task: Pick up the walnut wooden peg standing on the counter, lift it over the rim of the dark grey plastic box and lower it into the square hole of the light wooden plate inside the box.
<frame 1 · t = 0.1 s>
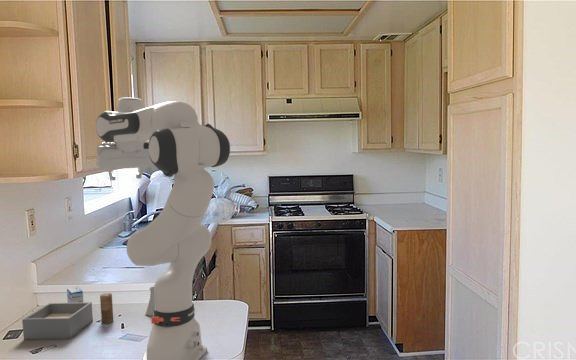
hand: (125, 179, 165), 52 cm above the counter, tool tilted 20°, fingers open, 8 cm apart
wooden peg: (107, 321, 167), on the counter
medicine box: (76, 311, 180), on the counter
flask: (155, 313, 174), on the counter
storage box: (59, 329, 160), on the counter
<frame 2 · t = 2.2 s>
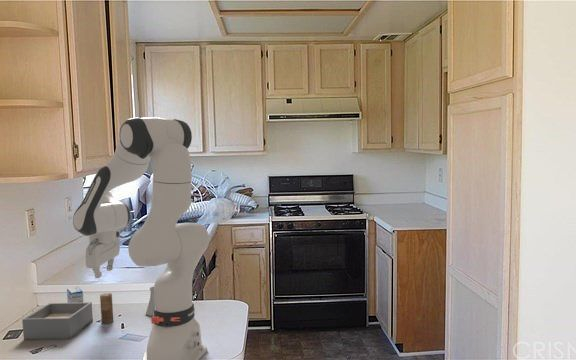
hand: (104, 273, 166), 18 cm above the counter, tool pointing down, fingers open, 8 cm apart
nothing on the counter moved.
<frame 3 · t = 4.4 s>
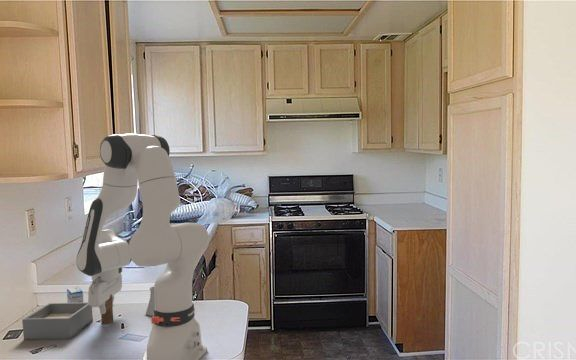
hand: (106, 310, 167), 4 cm above the counter, tool pointing down, fingers closed on wooden peg, 4 cm apart
wooden peg: (107, 321, 167), on the counter, touching gripper
everything else where it was.
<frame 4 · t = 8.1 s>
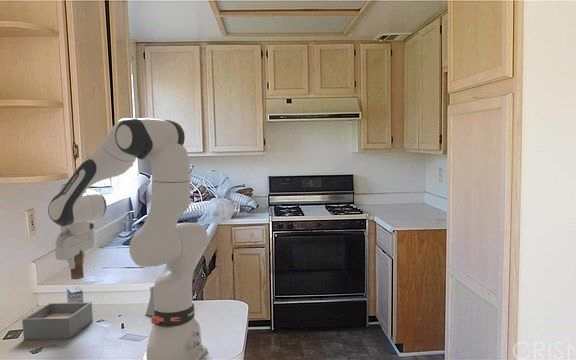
hand: (76, 266, 162), 22 cm above the counter, tool pointing down, fingers closed on wooden peg, 4 cm apart
wooden peg: (77, 277, 162), point 18 cm above the counter, touching gripper
everything else where it was.
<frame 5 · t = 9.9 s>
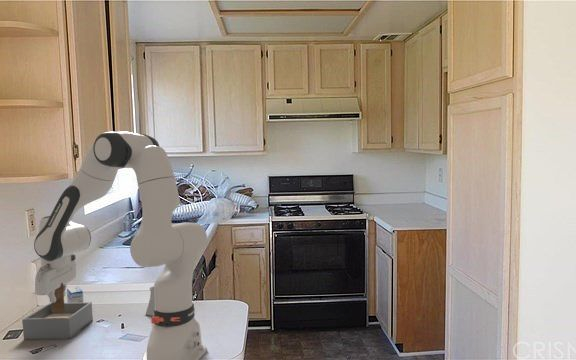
hand: (57, 299, 160), 11 cm above the counter, tool pointing down, fingers closed on wooden peg, 4 cm apart
wooden peg: (58, 311, 160), point 7 cm above the counter, touching gripper
everything else where it was.
when the fingers open (6 cm above the counter, at t = 11.8 s): wooden peg stays where it is, resting on storage box.
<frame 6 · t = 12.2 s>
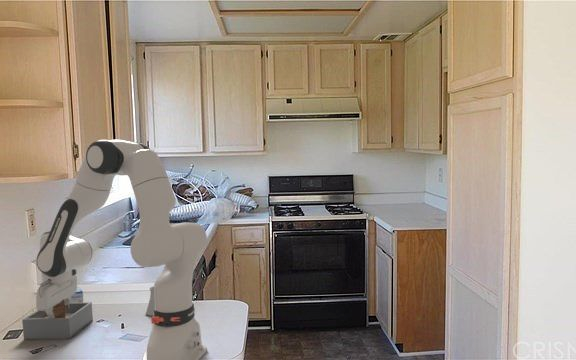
hand: (58, 314, 160), 6 cm above the counter, tool pointing down, fingers open, 8 cm apart
wooden peg: (59, 327, 160), point 1 cm above the counter, touching storage box
everything else where it was.
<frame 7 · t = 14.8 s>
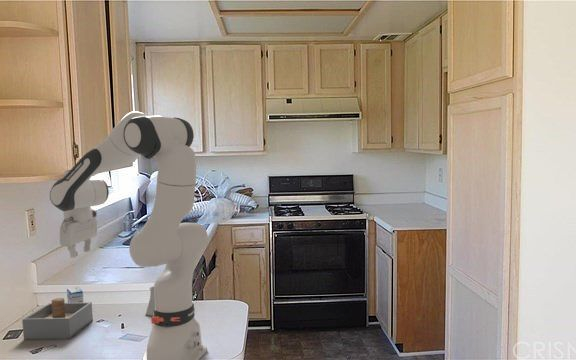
hand: (80, 254, 161), 26 cm above the counter, tool pointing down, fingers open, 8 cm apart
nothing on the counter moved.
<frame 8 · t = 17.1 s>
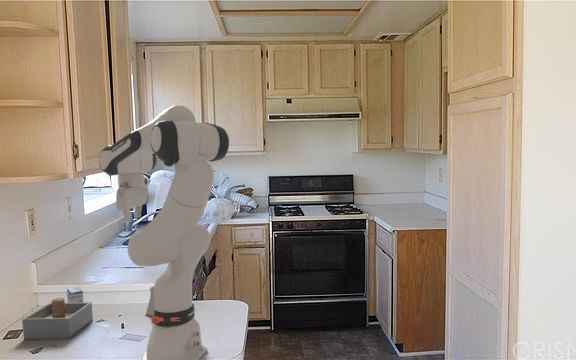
hand: (133, 219, 166), 37 cm above the counter, tool pointing down, fingers open, 8 cm apart
nothing on the counter moved.
at the end: wooden peg 0.0 cm off-centre on the storage box, point 0.8 cm above the storage box's base; wooden peg tilted 0°; the gripper is holding nothing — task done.
